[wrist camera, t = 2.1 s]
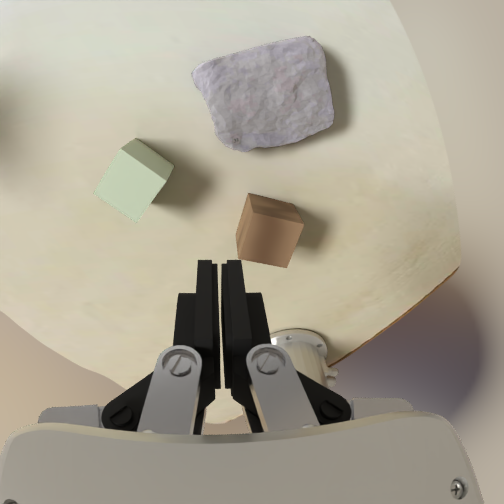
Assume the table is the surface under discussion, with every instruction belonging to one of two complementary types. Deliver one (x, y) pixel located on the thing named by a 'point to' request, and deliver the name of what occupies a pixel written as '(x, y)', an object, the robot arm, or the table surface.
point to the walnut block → (268, 231)
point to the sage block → (133, 179)
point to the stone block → (267, 94)
